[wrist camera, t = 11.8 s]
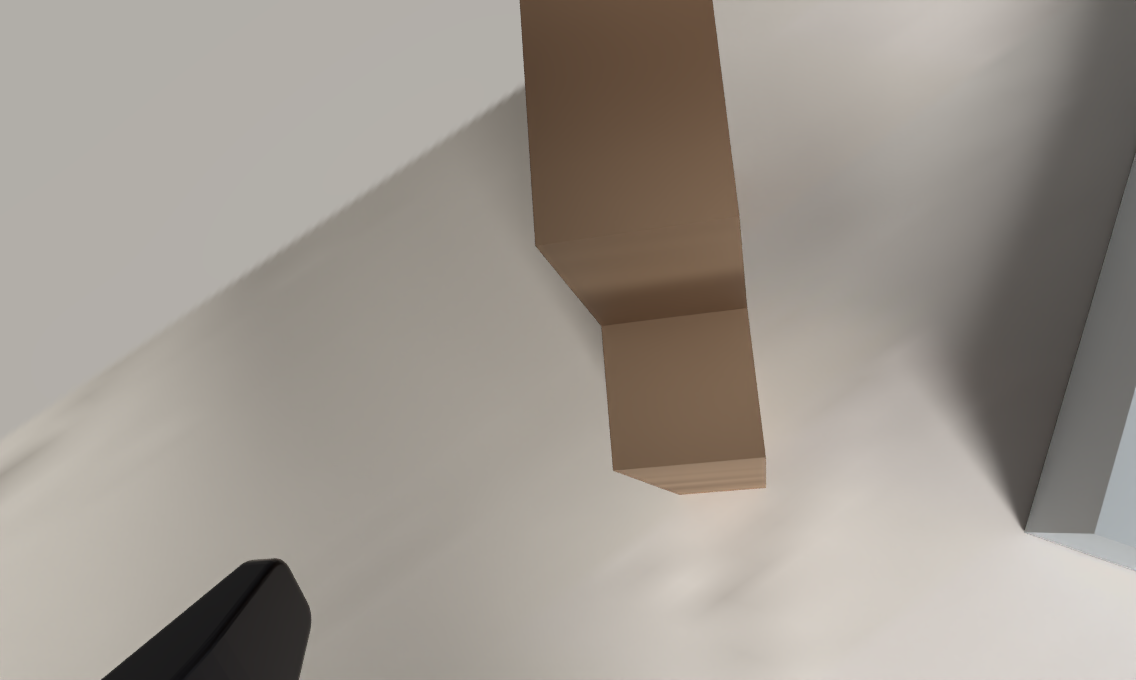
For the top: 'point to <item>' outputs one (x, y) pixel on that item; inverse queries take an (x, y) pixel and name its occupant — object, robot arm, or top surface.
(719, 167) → the angular brown block
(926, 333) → the top surface
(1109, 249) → the flat gray panel
